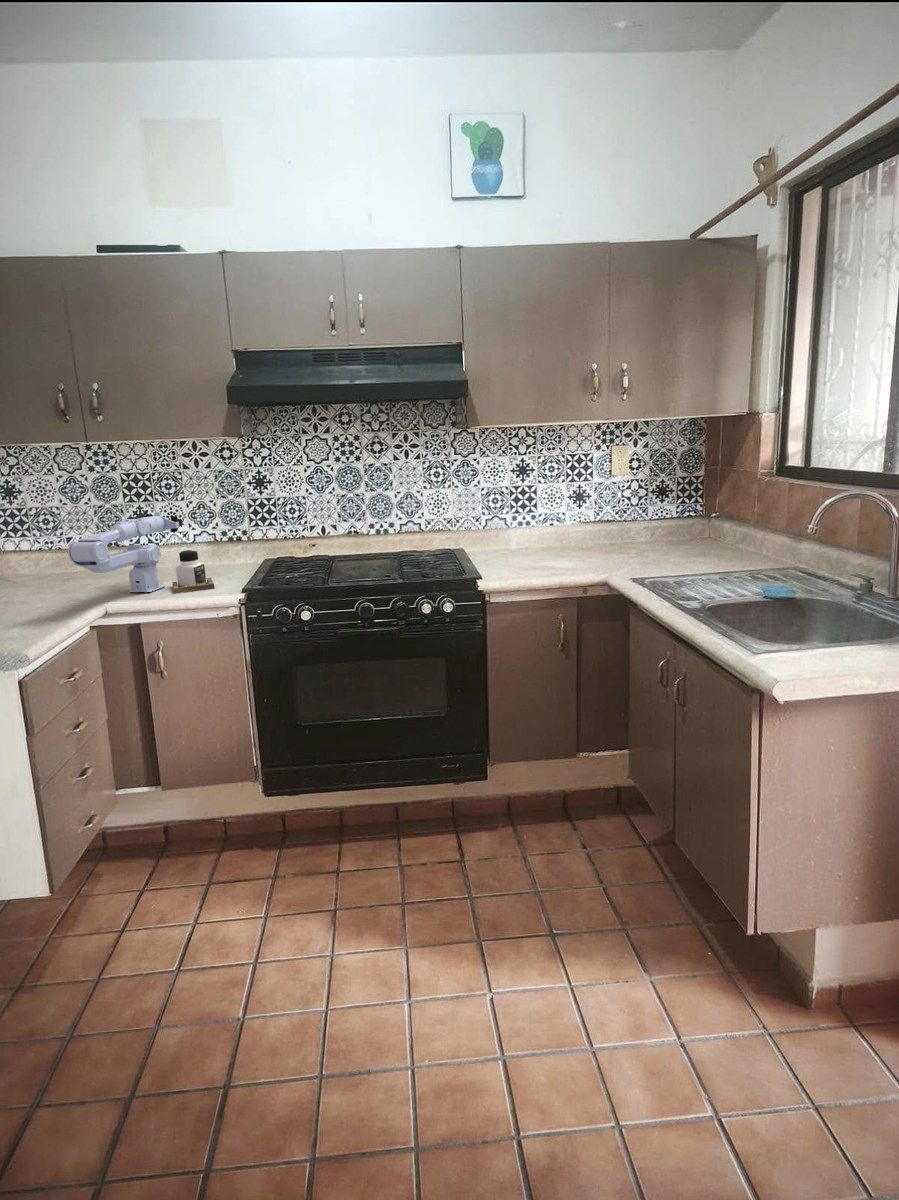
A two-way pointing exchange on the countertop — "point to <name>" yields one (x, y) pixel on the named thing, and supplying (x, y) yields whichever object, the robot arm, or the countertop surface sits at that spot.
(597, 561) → the countertop surface
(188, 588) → the walnut frame
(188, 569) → the medicine bottle
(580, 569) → the countertop surface
